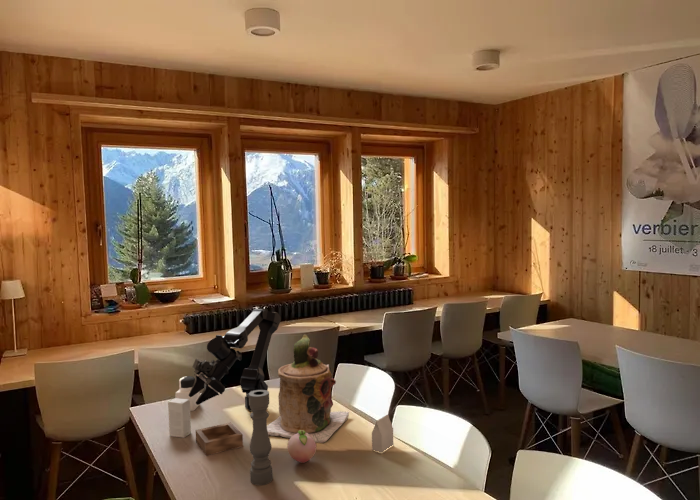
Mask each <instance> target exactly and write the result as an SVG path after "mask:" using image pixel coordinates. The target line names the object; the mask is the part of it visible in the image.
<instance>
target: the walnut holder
mask: <svg viewBox="0 0 700 500" xmlns="http://www.w3.org/2000/svg"><path fill="white" fill-rule="evenodd" d="M243 436H244V435H243V433H242V432H241V431H240V430H239V429H238V428H237V427H236V426H235V425H234V424H233V423H232V422H227V423H221V424H217V425H212V426H209V427H203V428H199V429H195V443H196V444H197V445H198V447H199V448H200V450H201V451H202V452H203V453H204V455H205V456H209V455H213V454H214V455H215V454H218V453H221V452H225V451H230V450H234V449H238V448H242V447H244V438H243Z"/></svg>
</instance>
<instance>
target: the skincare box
mask: <svg viewBox="0 0 700 500" xmlns="http://www.w3.org/2000/svg"><path fill="white" fill-rule="evenodd" d="M167 406H168V407H167V409H168V410H167V411H168V431H169V433H168V434H169V437H175V438H176V437H177V438H183V439H184V438H186V437H187V436H188V435H190V434H191V433H192V426H191V411H190V401H189V399H179V398H176V397H175V398H173V399H171V400H170V401H168V402H167Z"/></svg>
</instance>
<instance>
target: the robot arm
mask: <svg viewBox="0 0 700 500" xmlns="http://www.w3.org/2000/svg"><path fill="white" fill-rule="evenodd" d="M281 320H282V317H281V315H280V313H279V312H276V311H269V310H268V309H265V308H253V310H251V313H250V314H249V315H248V316H247V317H246V318H245V319H244V320H243V321H242V322H241V323H240V324H239V325H238V326H237V327H234V328H231V329H230V330H228V331H227V332H226V333H225V334H224V336H222V335H220V334H216V335H215V337H214V338H212V339H211V340H210V341H209V342H208V343H207V346H206V349H207V351H208V352H209V353H210V354H211V355H213V357H215V358H216V359H215V360H214V359H212V360H211V361H207V360H205V359H204V360H203V359H202V360H201V359H200V358H195V360H194V362H193V364H192V368H193V369H194V378H195V382H194V385H193V387H192V389H191V391H190V393H189V396H190V397H192V396H194V395H195V394H197V393H198V392H199V391H200V396H199V398H198V399H197V401H196V404H197V405H199V404H200V405H201V404H203V403H205V402H206V401H209V400H210V399H212V398H214V397H216V396H220V395H223V393H224V392H225V391H226V386H225V385H224V384H222V381H221V379H222V378H223V377H224V376H225V375H229V372H230V371H229V370H230V369H231V367H232V366H233V365H234V364H235V363H236V362H237V361H238V360H239V361H242V359H243V357H242V352H240V351H239V350H235V349H243V348H244V347H245V345H246V344H247V342H248V340H249V335H250V334H251V333H252V332H253V331H254V330H255V329H256V328H257V327H258V329H259V333H258V337H257V341H256V344H255V348H254V350H253V354H252V358H251V362H250V365H249V366H248V367H247V368H246V367H245V368H244V369H243V370H242V374H241V376H240V381H239V384H240V389H241V392H242V393H243V394H244V393H245V396H244V407H245V408H246V409H247V410H248V411H249V412H252V410H251V409H250V406H249V393H250V392H251V391H255V390H267V391H269V390H268V388H269V386H268V384H267V383H266V381H264V380H265V374H264V371H263V368H264V364H265V361H266V358H267V357H266V356H267V353H268V351H269V346H270V343H271V339H272V335H273V334H274V333H275V332H277V330H278V329H279V326H280V323H281V322H282V321H281ZM201 391H202V392H201ZM200 405H199V406H200Z"/></svg>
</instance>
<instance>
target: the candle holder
mask: <svg viewBox="0 0 700 500" xmlns="http://www.w3.org/2000/svg"><path fill="white" fill-rule="evenodd" d="M269 405H270V391H269V390H255V391H251V392H250V393H249V406H250V409H251V410H252V411H251V413H250V414H249V416H250V419H252V432H251V433H252V434H251V438H250V443H249V451H250V454H251V456H252V458H253V460H252V461H251V463H250V466H251V467H250V469H249V474H250V475H249V476H250V483H251V484H253V485H255V486H263V485H267V484H270V483H271V482H272V481H273V475H274V474H273V466H272V461H271V459H270V458H269V455H270V453H271V450H272V443H271V439H270V435H268V431H267V426H268V424H267V423H268V422H267V419H268V417H269V416H270V414H269V412H268V411H267V410H268V409H269Z"/></svg>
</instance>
